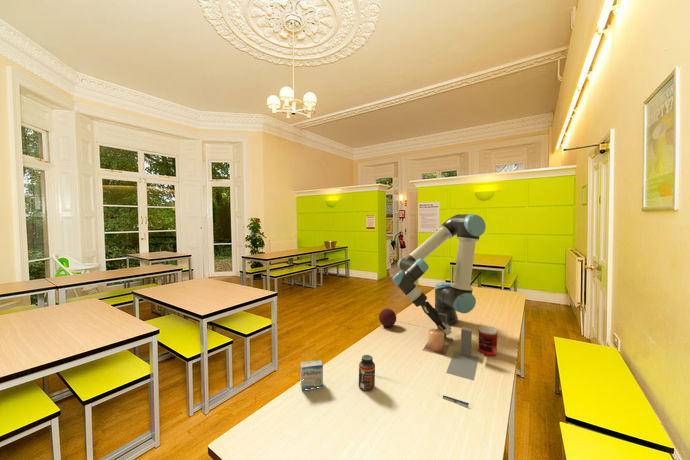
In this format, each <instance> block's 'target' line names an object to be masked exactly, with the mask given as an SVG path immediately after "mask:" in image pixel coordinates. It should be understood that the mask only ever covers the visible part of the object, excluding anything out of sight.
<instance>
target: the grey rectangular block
mask: <svg viewBox="0 0 690 460" xmlns="http://www.w3.org/2000/svg"><path fill="white" fill-rule="evenodd" d="M460 330H461V331H460V337H461V338H460V351H457V350H454V352H453V355H452V356H451V359H450V361H449V364H448V367H447V370H446V373H445V374H449V375H452V376H456V377H459V378H463V379H467V380H470V381H474V380H475V376H476V372H477V367H478V362H479V356H478V355H475V354H472V341H473V338H472V336H473V335H472V334H473V328H469V327H465V326H464V327H463V326H462V327H461V329H460Z"/></svg>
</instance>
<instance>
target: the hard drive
mask: <svg viewBox="0 0 690 460" xmlns="http://www.w3.org/2000/svg"><path fill="white" fill-rule="evenodd" d="M442 399H443V400H445V401H448V402H450V403H452V404H455V405H456V404H457V405H459V406H462V407H464V408H467V409H468V408H469V405H470V403H469V402H466V401H463V400H460V399H457V398H453V397H450V396H447V395H442Z"/></svg>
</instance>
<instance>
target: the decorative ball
mask: <svg viewBox="0 0 690 460" xmlns="http://www.w3.org/2000/svg"><path fill="white" fill-rule="evenodd" d="M378 320H379V323H380V324H381V325H382V326H384V327H386V328H389V327H393V326H394V325H395V324H396V322H397V314H396V312H395V311H394V310H392V309H391V308H384V309H382V310H381V311H380V312H379V314H378Z"/></svg>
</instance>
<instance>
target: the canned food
mask: <svg viewBox="0 0 690 460" xmlns="http://www.w3.org/2000/svg"><path fill="white" fill-rule="evenodd" d="M477 347H478V352H479V353H480V354H483V355H484V356H486V357H490V358H491V357H495V356H497V353H498V351H497V349H498V330H497V329H495V328H493V327H491V326H480V327H478V345H477Z"/></svg>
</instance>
